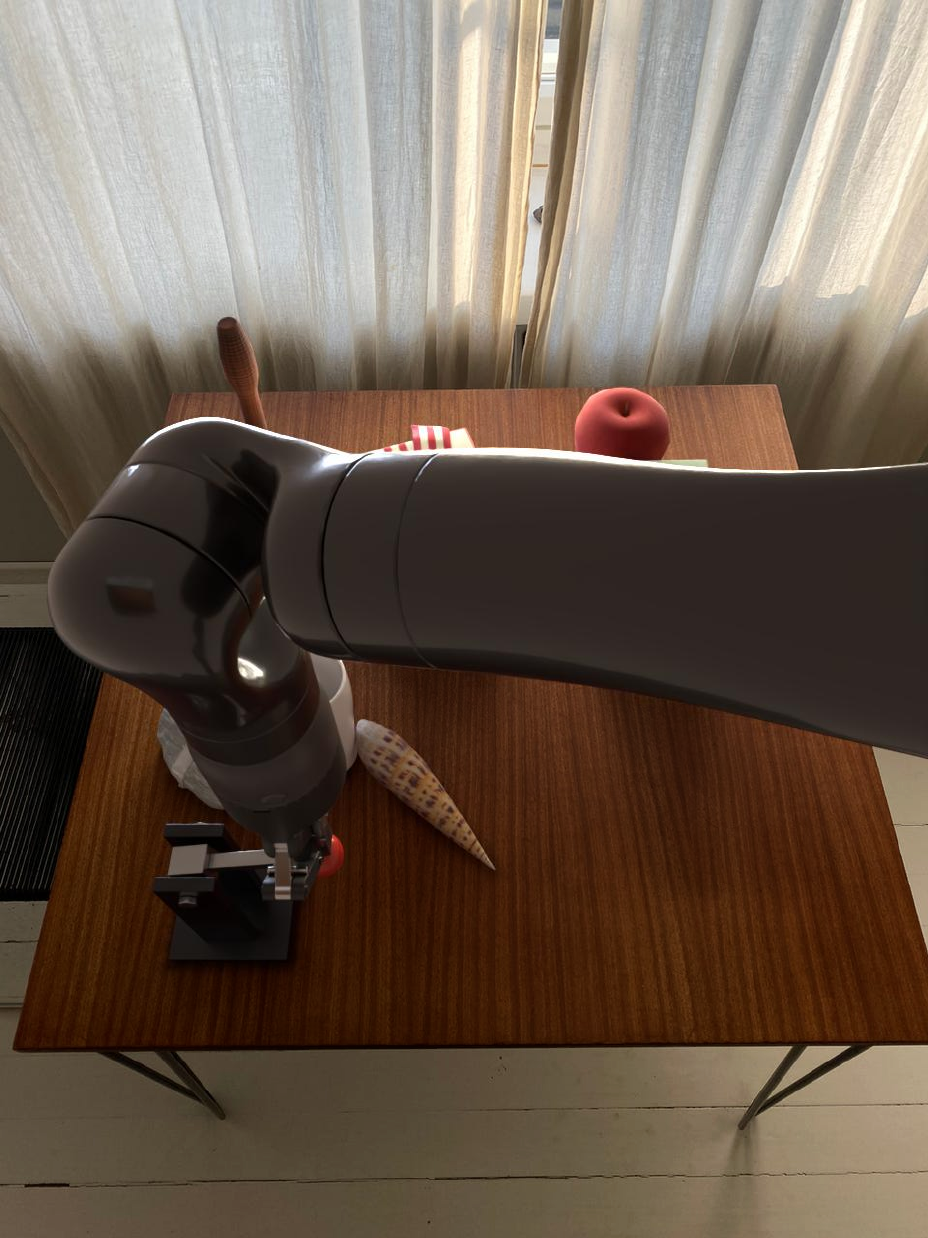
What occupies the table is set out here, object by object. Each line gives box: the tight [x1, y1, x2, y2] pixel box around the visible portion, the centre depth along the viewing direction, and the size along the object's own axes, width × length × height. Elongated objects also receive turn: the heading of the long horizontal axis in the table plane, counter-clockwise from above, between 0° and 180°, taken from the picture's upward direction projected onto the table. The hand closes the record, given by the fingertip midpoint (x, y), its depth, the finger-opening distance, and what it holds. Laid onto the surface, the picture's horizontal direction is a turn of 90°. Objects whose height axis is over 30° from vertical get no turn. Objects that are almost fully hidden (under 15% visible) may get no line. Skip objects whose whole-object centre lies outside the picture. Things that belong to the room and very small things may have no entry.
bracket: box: [151, 822, 297, 964], centre depth 70 cm, size 10×8×16 cm
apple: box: [574, 387, 671, 461], centre depth 100 cm, size 11×11×12 cm
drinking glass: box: [310, 653, 358, 771], centre depth 79 cm, size 7×7×15 cm
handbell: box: [215, 316, 269, 431], centre depth 93 cm, size 12×12×25 cm
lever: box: [167, 833, 345, 880], centre depth 64 cm, size 13×3×3 cm, turn 90°
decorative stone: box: [156, 707, 225, 810], centre depth 83 cm, size 13×10×6 cm
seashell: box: [355, 718, 496, 871], centre depth 80 cm, size 4×18×5 cm, turn 43°
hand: (316, 846), depth 61 cm, fingers closed
